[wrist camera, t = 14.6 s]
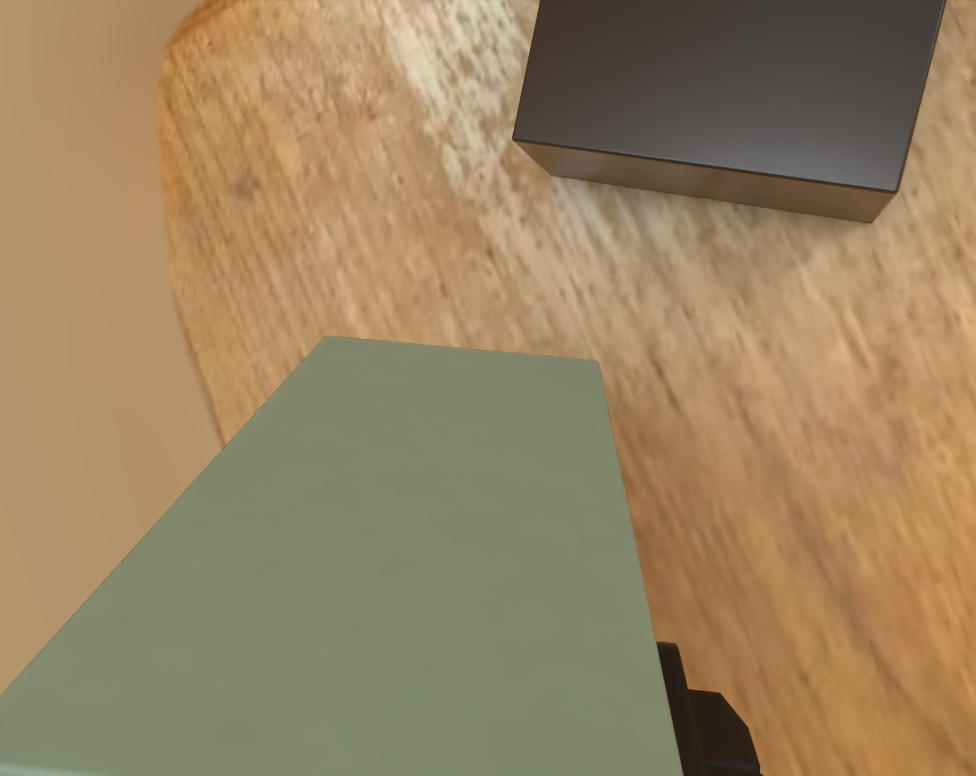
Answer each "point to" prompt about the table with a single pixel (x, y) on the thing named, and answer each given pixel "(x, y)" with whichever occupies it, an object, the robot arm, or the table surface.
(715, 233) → the table surface
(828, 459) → the table surface
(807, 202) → the riser
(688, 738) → the robot arm
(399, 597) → the sage green rectangular prism
